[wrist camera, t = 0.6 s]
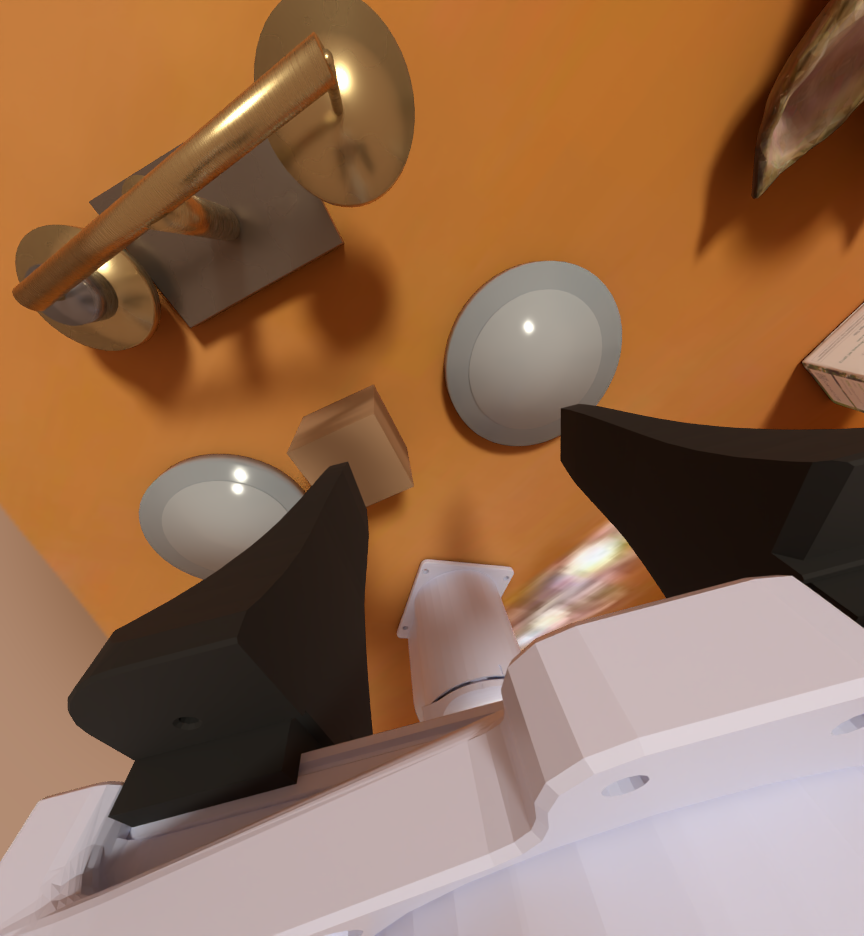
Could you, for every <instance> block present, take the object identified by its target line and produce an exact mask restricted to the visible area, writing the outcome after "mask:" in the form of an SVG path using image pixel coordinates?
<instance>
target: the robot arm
mask: <svg viewBox="0 0 864 936" xmlns="http://www.w3.org/2000/svg"><path fill="white" fill-rule="evenodd" d="M561 462H562V464H563V465H564V467H565V468H566V470H567V472H568V473H569V475H570V476H571V478H572V479H573V481H574V482H575V483H576V484H577V486H578V487H579V488H580V489H581V490H582V491H583V492H584V493H585V495H586V496H587V497H588V498H589V499H590V500H591V501H592V502H593V503H594V504H595V505H596V507H597V508H598V509H599V510H600V511H601V512H602V513H603V514H604V515H605V516H606V517H607V519H608V520H609V521H610V522H611V523H612V524H613V525H614V526H615V527H616V528H617V530H618V531H619V532H620V533H621V534H622V536H623V537H624V538H625V539H626V541H627V542H628V543H629V545H630V546H631V547H632V549H633V550H634V552H635V553H636V554H637V556H638V557H639V559H640V560H641V561H642V563H643V564H644V566H645V567H646V568H647V570H648V571H649V573H650V574H651V576H652V577H653V579H654V580H655V582H656V583H657V585H658V586H659V588H660V589H661V591H662V592H663V594H664V595H665V597H666V598H667V599H663V600H659V601H655V602H651V603H647V604H644V605H640V606H636V607H632V608H628V609H625V610H621V611H617V612H613V613H609V614H605V615H602V616H598V617H594V618H590V619H586V620H583V621H579V622H575V623H571V624H569V625H567V626H564V627H562V628H560V629H557V630H555V631H552V632H550V633H548V634H545V635H543V636H541V637H538V638H536V639H535V640H534V641H533V642H531V643H530V644H529V645H528V646H527V647H526V648H525V649H524V650H522V651H521V650H520V648H519V645H518V642H517V640H516V637H515V634H514V632H513V629H512V626H511V624H510V621H509V619H508V616H507V613H506V611H505V608H504V605H503V603H502V600H501V596H502V595H503V593H504V591H505V589H506V587H507V585H508V583H509V582H510V580H511V578H512V576H513V574H514V571H513V569H512V568H511V567H506V566H495V565H484V564H474V563H463V562H452V561H442V560H431V559H426V560H423V561H422V562H421V564H420V567H419V570H418V572H417V575H416V578H415V581H414V584H413V587H412V590H411V593H410V595H409V598H408V601H407V604H406V607H405V610H404V613H403V616H402V618H401V621H400V624H399V627H398V630H397V636H398V637H399V638H408V645H409V657H410V668H411V679H412V690H413V701H414V707H415V711H416V714H417V716H418V719H419V721H420V722H419V723H415V724H411V725H407V726H404V727H400V728H396V729H392V730H389V731H385V732H381V733H377V734H374V735H373V731H372V720H371V710H370V697H369V684H368V671H367V654H366V636H365V611H364V600H365V582H366V568H367V555H368V539H369V531H368V517H367V509H366V506H365V504H364V501H363V498H362V496H361V493H360V491H359V488H358V486H357V483H356V481H355V478H354V475H353V473H352V470H351V468H350V465H349V463H348V462H344V463H340V464H336V465H332V466H329V467H328V468H327V469H326V470H325V471H324V472H323V473H322V475H321V476H320V477H319V478H318V479H317V480H316V481H315V483H314V484H313V485H312V486H311V487H310V488H309V490H308V491H307V492H306V493H305V494H304V495H303V496H302V498H301V499H300V500H299V501H298V502H297V503H296V504H295V505H294V506H293V507H292V508H291V509H290V510H289V511H288V512H287V513H286V514H285V515H284V516H283V518H282V519H281V520H280V521H279V522H278V523H276V524H275V525H274V526H273V527H272V528H271V529H270V530H269V531H268V532H267V533H265V534H264V535H263V536H262V537H261V538H260V539H258V540H257V541H256V542H255V543H254V544H253V545H251V546H250V547H249V548H247V549H246V550H245V551H243V552H242V553H241V554H239V555H238V556H237V557H235V558H234V559H233V560H231V561H230V562H229V563H227V564H226V565H225V566H223V567H222V568H221V569H219V570H218V571H216V572H215V573H213V574H212V575H210V576H209V577H207V578H206V579H204V580H203V581H201V582H200V583H198V584H196V585H195V586H193V587H191V588H190V589H188V590H187V591H185V592H183V593H182V594H180V595H178V596H177V597H175V598H173V599H172V600H170V601H168V602H167V603H165V604H163V605H161V606H159V607H157V608H156V609H154V610H152V611H150V612H148V613H147V614H145V615H143V616H141V617H139V618H138V619H136V620H134V621H132V622H130V623H128V624H127V625H125V626H123V627H121V628H119V629H117V630H115V631H114V632H113V634H112V635H111V636H110V638H109V639H108V641H107V642H106V644H105V645H104V646H103V648H102V649H101V651H100V652H99V654H98V655H97V656H96V658H95V659H94V661H93V662H92V664H91V665H90V667H89V668H88V669H87V671H86V672H85V674H84V675H83V677H82V678H81V679H80V681H79V682H78V684H77V685H76V686H75V688H74V689H73V691H72V692H71V694H70V695H69V697H68V711H69V714H70V715H71V717H72V719H73V720H74V722H75V723H76V725H77V726H79V727H80V728H81V729H83V730H84V731H85V732H86V733H88V734H89V735H91V736H93V737H95V738H96V739H98V740H100V741H102V742H103V743H105V744H107V745H109V746H110V747H112V748H114V749H115V750H117V751H119V752H121V753H122V754H124V755H126V756H128V757H129V758H131V759H133V760H135V762H134V764H133V766H132V768H131V770H130V772H129V774H128V776H127V779H126V781H125V783H124V782H115V781H108V782H101V783H96V784H92V785H89V786H85V787H81V788H77V789H74V790H70V791H66V792H62V793H58V794H55V795H51V796H47V797H45V798H43V799H42V800H40V801H39V802H38V803H37V805H36V806H35V808H34V809H33V811H32V812H31V814H30V816H29V817H28V819H27V821H26V822H25V823H24V825H23V827H22V828H21V830H20V832H19V833H18V835H17V836H16V838H15V839H14V841H13V843H12V844H11V846H10V847H9V849H8V851H7V852H6V854H5V855H4V857H3V858H2V860H1V862H0V936H864V428H851V429H814V430H776V429H750V428H731V427H719V426H709V425H699V424H690V423H683V422H676V421H670V420H664V419H658V418H653V417H648V416H642V415H637V414H633V413H628V412H623V411H618V410H614V409H609V408H604V407H599V406H593V405H587V404H576V405H572V406H568V407H564V408H561ZM425 569H427V570H425ZM505 576H506V577H505Z"/></svg>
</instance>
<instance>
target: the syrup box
mask: <svg viewBox="0 0 864 936" xmlns="http://www.w3.org/2000/svg"><path fill="white" fill-rule="evenodd" d="M802 364H803V365H804V367H805V368H806V369H807V371H808V372H809V373H810V374H811V376H812V377H813V378H814V379H815V380H816V382H817V383H818V384H819V385H820V387H821V388H822V389H823V390H824V392H825V393H826V394H827V395H828V397H829V398H830V399H831V400H832V401H833V402H834V403H836V404H838V405H841V406H844V407H848V408H851V409H854V410H857V411H860V412H863V413H864V303H863V304H862V305H861V306H860V307H859V308H858V309H857V310H855V311H854V312H853V313H852V314H851V315H850V316H849V317H848V318H847V319H846V320H845V321H844V322H843V323H842V324H841V325H840V326H839V327H838V328H836V329H835V330H834V331H833V332H832V333H831V334H830V335H829V336H828V337H827V338H826V339H825V340H824V341H823V342H822V343H821V344H820V345H819V346H818V347H817V348H816V349H815V350H814V351H813V352H812V353H811V354H810V355H809V356H807V357H806V358H805V359H804V360H803V361H802Z"/></svg>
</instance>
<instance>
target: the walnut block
mask: <svg viewBox="0 0 864 936" xmlns="http://www.w3.org/2000/svg"><path fill="white" fill-rule="evenodd" d="M287 454H288V456H289V457H290V458H291V459H292V461H293V462H294V463H295V465H296V466H297V467H298V469H299V470H300V471H301V473H302V474H303V475H304V476H305V478H306V479H307V480H308V482H309V483H310V484H311V486H312V485H313V484H314V483H315V481H316V480H317V479H318V478H319V477H320V476H321V475H322V473H323V472H324V471H325V470H326V469H327V468H328V467H329V466H332V465H336V464H340V463H344V462H348V463H349V465H350V468H351V470H352V473H353V475H354V478H355V481H356V483H357V486H358V488H359V491H360V493H361V496H362V498H363V501H364V504H365V506H366V507H367V506H370V505H372V504H374V503H377V502H379V501H381V500H383V499H386V498H388V497H390V496H393V495H395V494H397V493H400V492H402V491H404V490H407V489H409V488H411V487H414V484H413V479H412V473H411V468H410V462H409V457H408V451H407V447H406V445H405V443H404V441H403V439H402V437H401V436H400V434H399V432H398V430H397V428H396V426H395V424H394V422H393V420H392V418H391V416H390V415H389V413H388V411H387V409H386V407H385V405H384V403H383V401H382V399H381V397H380V395H379V394H378V392H377V390H376V388H375V386H374V385H372V386H369V387H367V388H365V389H363V390H361V391H359V392H356V393H354V394H352V395H350V396H348V397H346V398H343V399H341V400H339V401H337V402H335V403H333V404H330V405H328V406H326V407H324V408H322V409H320V410H317V411H315V412H313V413H311V414H309V415H307V416H304V417H303V419H302V421H301V423H300V425H299V428H298V430H297V432H296V434H295V436H294V439H293V441H292V443H291V445H290V447H289V449H288V452H287Z"/></svg>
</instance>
